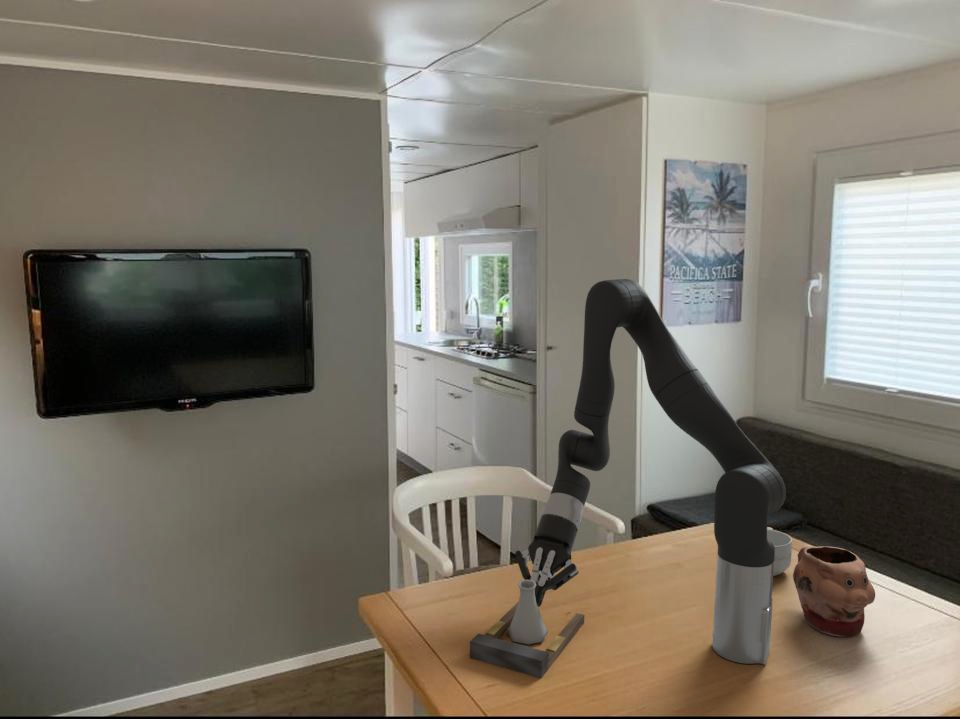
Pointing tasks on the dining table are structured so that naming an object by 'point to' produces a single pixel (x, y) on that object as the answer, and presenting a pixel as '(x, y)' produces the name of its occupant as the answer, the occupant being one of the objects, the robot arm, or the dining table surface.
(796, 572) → the decorative planter
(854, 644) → the dining table surface
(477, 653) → the guide track
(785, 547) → the teacup
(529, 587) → the flask
